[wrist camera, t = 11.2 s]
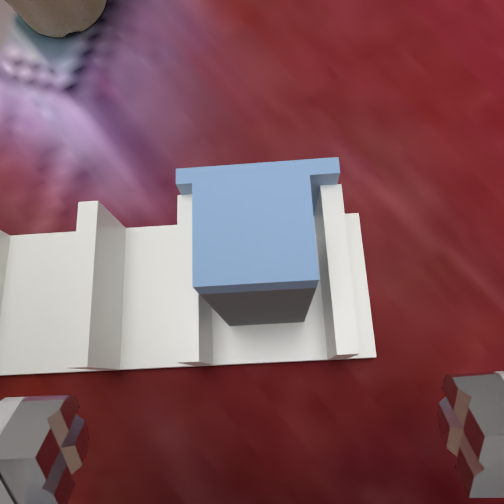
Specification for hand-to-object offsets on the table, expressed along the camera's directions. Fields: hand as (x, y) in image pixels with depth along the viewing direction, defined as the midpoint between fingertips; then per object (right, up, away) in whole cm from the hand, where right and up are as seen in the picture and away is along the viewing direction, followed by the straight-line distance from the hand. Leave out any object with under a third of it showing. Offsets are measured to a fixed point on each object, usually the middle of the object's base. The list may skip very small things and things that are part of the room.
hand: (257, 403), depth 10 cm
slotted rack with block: (-5, +1, +15) cm, 16 cm away
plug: (+1, +1, +14) cm, 14 cm away
